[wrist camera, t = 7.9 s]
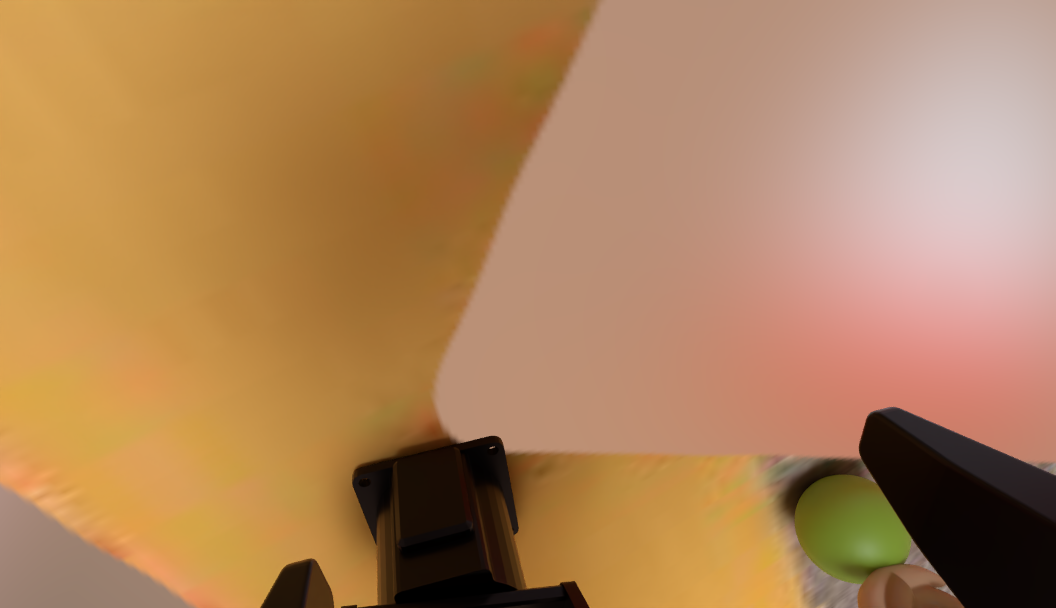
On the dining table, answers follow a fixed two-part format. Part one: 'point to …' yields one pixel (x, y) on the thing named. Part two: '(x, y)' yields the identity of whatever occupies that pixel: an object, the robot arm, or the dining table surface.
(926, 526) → the robot arm
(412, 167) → the dining table surface
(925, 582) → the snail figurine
